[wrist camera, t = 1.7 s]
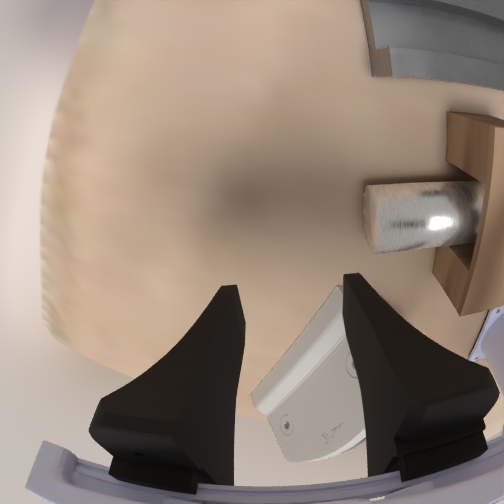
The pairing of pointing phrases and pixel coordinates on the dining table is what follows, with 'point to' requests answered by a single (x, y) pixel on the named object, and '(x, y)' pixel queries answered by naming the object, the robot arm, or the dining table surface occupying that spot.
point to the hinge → (315, 391)
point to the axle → (421, 214)
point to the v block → (437, 40)
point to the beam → (491, 222)
